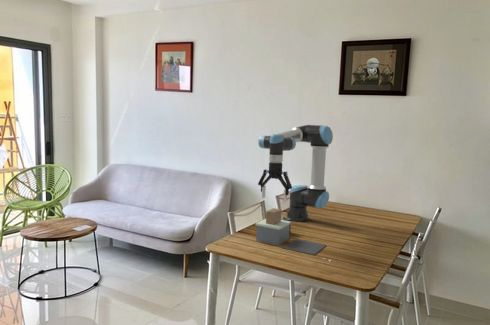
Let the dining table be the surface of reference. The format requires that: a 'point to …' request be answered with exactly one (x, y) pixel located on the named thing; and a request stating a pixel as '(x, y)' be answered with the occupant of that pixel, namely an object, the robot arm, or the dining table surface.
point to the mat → (304, 246)
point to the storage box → (272, 235)
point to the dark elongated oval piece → (287, 220)
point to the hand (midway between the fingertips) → (274, 199)
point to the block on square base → (273, 220)
